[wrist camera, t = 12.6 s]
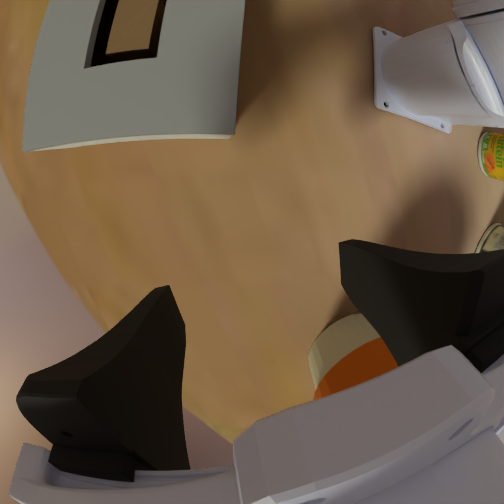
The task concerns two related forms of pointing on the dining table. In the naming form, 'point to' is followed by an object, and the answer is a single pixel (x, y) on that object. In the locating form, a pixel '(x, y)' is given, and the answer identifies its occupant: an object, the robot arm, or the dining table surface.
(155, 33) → the tan rectangular block
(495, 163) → the supplement bottle
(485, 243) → the coffee can
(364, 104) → the dining table surface
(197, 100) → the box
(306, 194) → the dining table surface
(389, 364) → the reusable coffee cup
